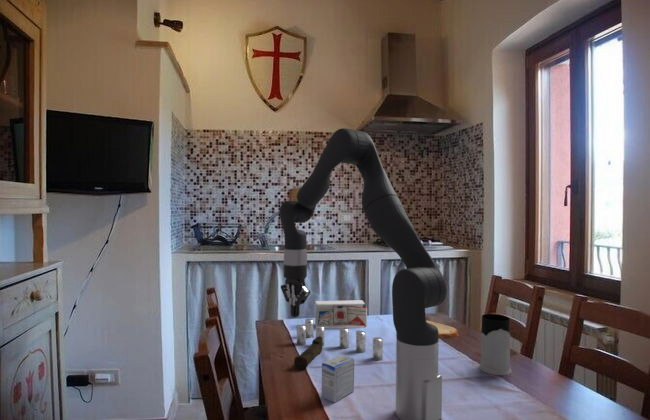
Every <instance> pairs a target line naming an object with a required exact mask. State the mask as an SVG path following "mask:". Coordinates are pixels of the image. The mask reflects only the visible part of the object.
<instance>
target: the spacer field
mask: <svg viewBox="0 0 650 420" xmlns="http://www.w3.org/2000/svg"><path fill="white" fill-rule="evenodd" d="M304 321H305V322H304V324H298V325H296V344H297V346H304V345H306V340H307V339H308V338H309V339H311V338H314V333H315V338H317V337H320V336H321V337H322V340H323V344H322V345H323V346H325V328H324V326H316V325H315V322H314V321H315V318H305V319H304ZM314 325H315V332H314ZM349 333H350V328H339V348H340V349H349V346H350V345H349V343H350V340H349V338H350V337H349V336H350V335H349ZM306 338H307V339H306ZM383 341H384V338H382V337H373V338H372V359H373V360H374V361H382V360H383V358H384V357H383V356H384V355H383V353H384V352H383V351H384V349H383V348H384V346H383V343H384V342H383ZM323 346H322V347H323ZM355 351H356V352H357V353H366V331H364V330H357V331H355Z"/></svg>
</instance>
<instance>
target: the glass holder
mask: <svg viewBox="0 0 650 420" xmlns="http://www.w3.org/2000/svg"><path fill="white" fill-rule="evenodd" d="M510 323H511V318H510V317H508V316H506V315H501V314H496V313H495V314H494V313H486V314H482V315H481V332H480V362H479V365H478V368H479V370H481V371H482V372H483V373H487V374H490V375H494V376H507V375H510V373H511V374H512V369H511V330H510V329H511V328H510V325H511V324H510Z"/></svg>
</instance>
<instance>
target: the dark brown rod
mask: <svg viewBox="0 0 650 420" xmlns="http://www.w3.org/2000/svg"><path fill="white" fill-rule="evenodd" d="M311 342H312V343H311V344H310V346H308V347H307V348H306V349H305V350H304V351H303V352H301V354H300V355H298V356H295V357H294V361H293V362H294V363H293V366H294V368H295V369H296V370H303V371H304V370H306V369H307V368H308V365H309V364H310V363H311V362H312V361H313V360H314V359H315V358H316V356H318V355H321V354H322V351H323V345H322V344H323V340H322V337H321V336H320V337H317V338H316V337H315V338H314V339H313V340H312V341H311Z"/></svg>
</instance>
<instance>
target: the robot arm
mask: <svg viewBox="0 0 650 420" xmlns="http://www.w3.org/2000/svg"><path fill="white" fill-rule="evenodd" d="M340 164H348V165H354V166H356V168H357V170H358V171H359V173H360V175H361V177H362V181H363V189H362V195H361V205H362V206H361V207H362V210H363V213H364V215H365V216H366V219H367V220H368V221H367V222H368V223H369V225H370V228H371V230H372V231H373V232H374V233H375V234H376V236H378V237H379V238H380V239H381V240H382V241H383V242H384V243H385V244H386V245H387V246H389V248H391V249H392V250H393V251H394V252H395V253H396V254H397V255H398V257H399V258H400V259H401V261H402V262H403V264H404V266H405V268H403V269H401V270H399V271H397V272H396V274H395V275H394V278H393V280H392V284H391V300H392V301H391V302H392V322H393V325H394V328H395V331H396V332H395V333H396V341H395V342H396V343H395V345H396V349H395V350H396V351H395V353H396V354H395V356H396V357H395V365H396V366H395V415H396V417H397V418H398V419H399V420H441V419H442V418H443V413H442V411H443V408H442V407H443V406H442V405H443V404H442V403H443V376H442V375H441V374H439V339H440V338H439V332H438V329H437V327H436V326H435V325H433V324H430V323H427V322H426V317H427V316H426V309H428V308H432V307H436V306H439V305H442V303H444V301H445V299H446V296H447V292H448V291H447V284H446V279H445V278H444V276H443V274H442V272H441V270H440V268H439V266H437V264H436V262H435V260H434V259H433V258H432V256H431V255H430V253H429V252H428V250H427V249H426V247H425V246H424V244H423V243H422V241H421V239H420V237H419V236H418V233H417V231H416V230H415V228H414V226H413V224H412V222H411V221H410V218H409V216H408V215H407V212H406V210H405V208H404V206H403V204H402V202H401V200H400V198H399V196H398V195H397V192H396V191H395V189H394V188H393V185H392V183H391V181H390V178H389V177H388V175H387V172H386V171H385V169H384V167H383V164H382V161H381V159H380V156H379V154H378V151H377V148H376V146H375V143H374V141H373V139H372V137H371V136H370V135H369V133H367V132H365V131H362V130H357V129H351V128H345V127H342V128H339V129H337V130H335V131H334V132H333V134H332V135H331V137H330V138H329V140H328V141H327V143H326V145H325V147H324V150H322V153H321V155H320V157H319V159H318V161H317V163H316V165H315V166H314V169H313V170H312V172H311V174H310V175H309V177H308V178H307V179H306V181H305V182H304V183H303V185H302V186H301V187H300V188H299V190H298V191H297V193H296V200H285V201H283V202H282V203H281V205H280V207H279V213H278V214H279V219H280V222H281V226H282V231H283V235H284V251H283V252H284V253H283V278H284V279H285V280H284V281H285V283H284V284H281V285H280V289H281V292H282V295H283V297H284V299H285V301H286V303H289V305H290V317H293V318H299V316H300V305H304V304H305V302H306V301H307V300H308V297H309V296H310V294H311V290H310V289H307V288H306V287H307V286H306V282H305V279H306V278H307V276H308V253H307V237H308V236H307V233H306V231H304V230H301V229H297V226H296V224H298V223H301V224H302V223H306V222H308V221H309V220H311V219H312V217H313V215H314V212H315V210H316V208H317V205H318V204H319V203H320V201H321V200H322V199H323V198H324V197H325V196H326V194H327V193H328V192H329V189H330V185H331V174H332V172H333V170H334V169H335V168H336V167H337V166H338V165H340Z"/></svg>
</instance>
